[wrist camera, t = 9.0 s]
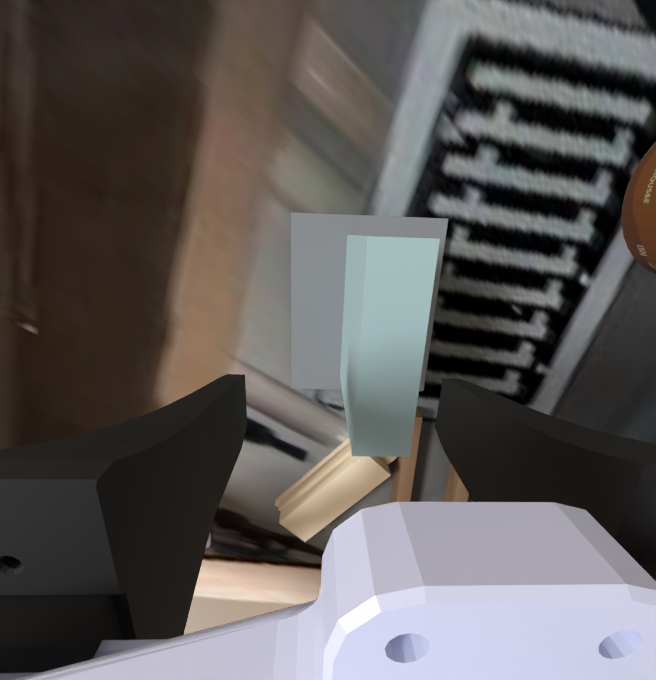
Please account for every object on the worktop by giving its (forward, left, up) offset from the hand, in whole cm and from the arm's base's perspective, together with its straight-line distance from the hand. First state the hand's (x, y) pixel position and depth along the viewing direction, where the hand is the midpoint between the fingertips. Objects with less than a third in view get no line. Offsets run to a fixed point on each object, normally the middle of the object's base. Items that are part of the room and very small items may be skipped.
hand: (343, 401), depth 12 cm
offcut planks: (+1, -12, -10) cm, 15 cm away
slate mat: (+2, +1, -10) cm, 10 cm away
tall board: (+2, +1, -9) cm, 9 cm away
